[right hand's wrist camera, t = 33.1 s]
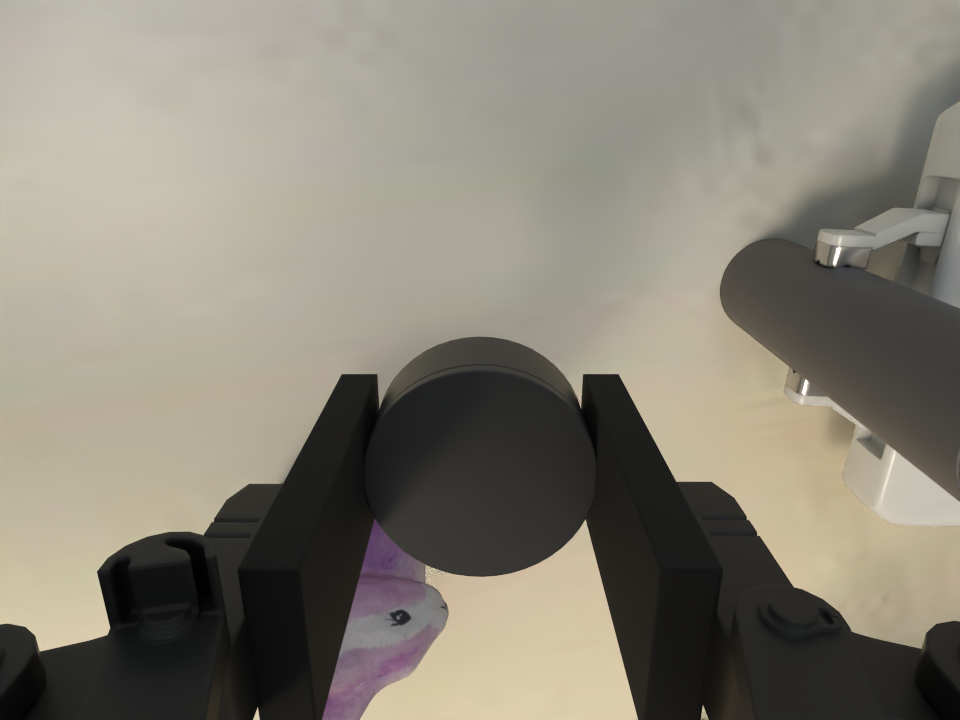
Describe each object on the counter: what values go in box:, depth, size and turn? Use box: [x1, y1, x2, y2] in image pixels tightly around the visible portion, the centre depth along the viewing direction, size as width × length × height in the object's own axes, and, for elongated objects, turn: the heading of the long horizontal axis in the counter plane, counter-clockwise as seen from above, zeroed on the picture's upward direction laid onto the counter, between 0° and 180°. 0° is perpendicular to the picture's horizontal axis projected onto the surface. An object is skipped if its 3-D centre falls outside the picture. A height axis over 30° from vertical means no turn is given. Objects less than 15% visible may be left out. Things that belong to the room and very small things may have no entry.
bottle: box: [720, 239, 960, 502], centre depth 26 cm, size 5×5×25 cm
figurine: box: [322, 519, 448, 720], centre depth 35 cm, size 9×10×15 cm
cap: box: [364, 337, 597, 577], centre depth 14 cm, size 4×4×2 cm
